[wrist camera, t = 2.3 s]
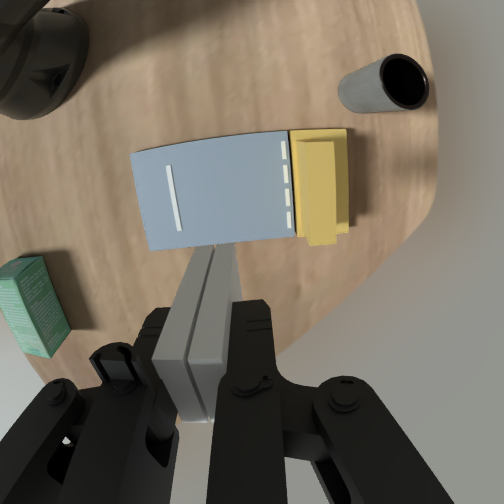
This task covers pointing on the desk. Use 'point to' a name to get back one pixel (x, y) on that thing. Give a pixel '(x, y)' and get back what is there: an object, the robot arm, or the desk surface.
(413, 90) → the gray cylinder
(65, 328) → the box
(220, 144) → the ticket
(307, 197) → the yellow stepped block
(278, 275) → the desk surface
